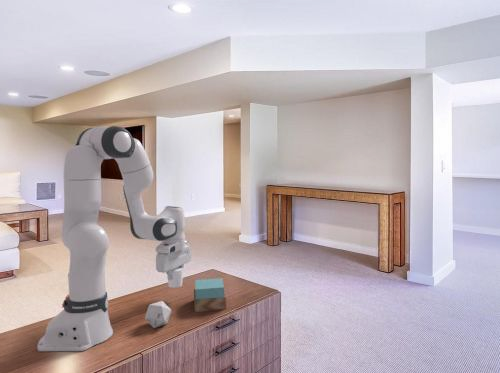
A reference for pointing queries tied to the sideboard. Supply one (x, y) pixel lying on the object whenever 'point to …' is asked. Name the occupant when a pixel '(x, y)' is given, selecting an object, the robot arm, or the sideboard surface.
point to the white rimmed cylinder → (176, 278)
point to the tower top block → (209, 288)
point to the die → (158, 314)
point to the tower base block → (209, 303)
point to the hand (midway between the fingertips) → (175, 277)
